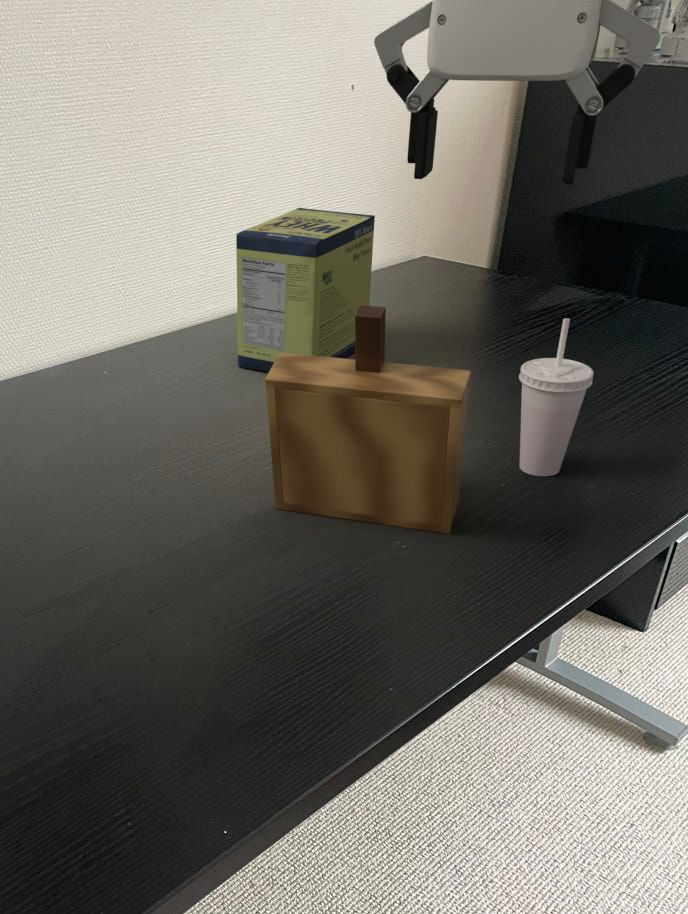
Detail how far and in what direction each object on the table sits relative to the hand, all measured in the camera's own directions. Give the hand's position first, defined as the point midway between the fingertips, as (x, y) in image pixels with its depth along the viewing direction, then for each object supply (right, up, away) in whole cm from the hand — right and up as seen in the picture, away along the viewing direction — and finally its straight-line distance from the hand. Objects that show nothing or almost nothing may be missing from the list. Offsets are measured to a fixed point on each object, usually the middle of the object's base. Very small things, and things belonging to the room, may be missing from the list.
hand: (494, 178), depth 66 cm
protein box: (-7, +4, +56) cm, 57 cm away
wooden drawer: (-7, -15, +13) cm, 21 cm away
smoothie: (+12, -15, +28) cm, 34 cm away
